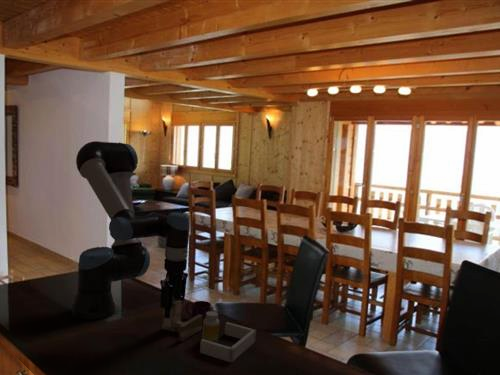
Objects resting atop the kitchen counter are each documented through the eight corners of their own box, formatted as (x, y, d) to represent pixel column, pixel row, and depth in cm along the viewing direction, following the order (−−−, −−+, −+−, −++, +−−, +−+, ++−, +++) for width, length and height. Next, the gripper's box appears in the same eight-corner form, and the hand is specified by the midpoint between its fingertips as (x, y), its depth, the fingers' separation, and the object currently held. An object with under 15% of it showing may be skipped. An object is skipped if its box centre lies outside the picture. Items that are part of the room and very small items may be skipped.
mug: (201, 327, 155) (202, 308, 154) (180, 319, 160) (182, 301, 160) (213, 322, 160) (214, 304, 160) (193, 314, 166) (194, 297, 165)
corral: (199, 352, 136) (200, 340, 135) (226, 333, 151) (227, 322, 151) (231, 362, 131) (232, 350, 131) (255, 341, 147) (256, 330, 146)
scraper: (154, 332, 146) (156, 304, 145) (175, 321, 157) (177, 294, 156) (182, 341, 142) (184, 312, 141) (201, 328, 152) (203, 301, 151)
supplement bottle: (199, 338, 145) (201, 311, 144) (214, 336, 148) (216, 309, 147) (205, 345, 140) (207, 317, 140) (220, 343, 143) (222, 315, 142)
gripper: (170, 265, 139) (165, 335, 141) (198, 255, 154) (193, 319, 156) (151, 261, 142) (147, 329, 145) (180, 251, 157) (176, 314, 160)
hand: (171, 324), depth 150 cm, fingers closed on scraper, 3 cm apart
